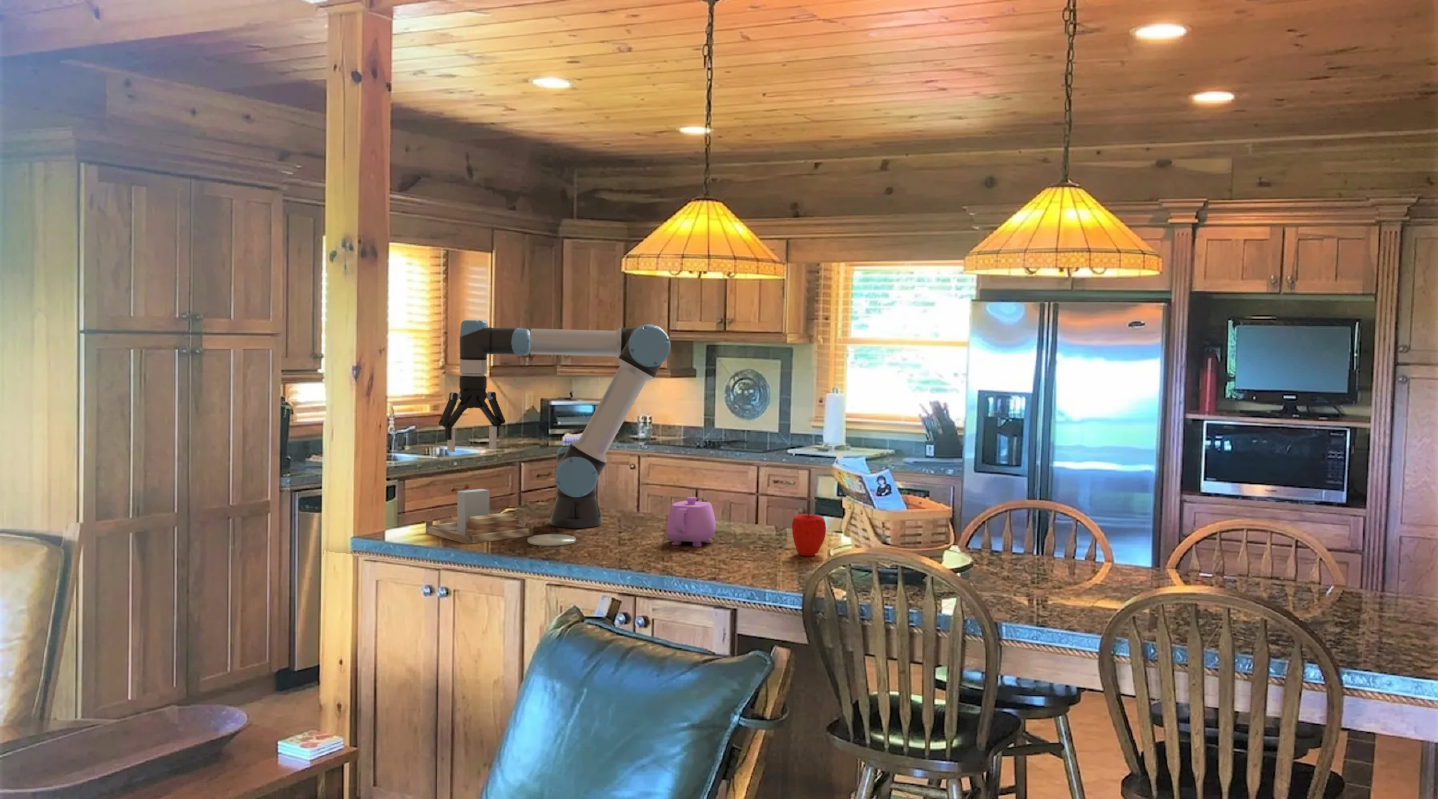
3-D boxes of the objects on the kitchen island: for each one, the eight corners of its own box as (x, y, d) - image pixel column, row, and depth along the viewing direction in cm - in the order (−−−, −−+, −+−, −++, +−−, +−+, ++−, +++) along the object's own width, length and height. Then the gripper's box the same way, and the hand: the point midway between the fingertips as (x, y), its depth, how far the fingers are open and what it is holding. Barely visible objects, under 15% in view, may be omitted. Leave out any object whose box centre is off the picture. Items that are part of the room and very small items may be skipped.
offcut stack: (509, 533, 326) (509, 512, 326) (519, 535, 323) (519, 514, 322) (465, 538, 316) (465, 517, 316) (475, 541, 313) (475, 519, 312)
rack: (489, 524, 339) (489, 513, 339) (532, 535, 323) (532, 522, 323) (425, 532, 325) (425, 520, 324) (467, 544, 309) (467, 531, 309)
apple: (832, 555, 301) (832, 514, 300) (809, 559, 295) (810, 517, 294) (806, 550, 307) (807, 510, 306) (784, 554, 301) (785, 513, 300)
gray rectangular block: (481, 530, 330) (481, 488, 330) (489, 532, 327) (489, 490, 327) (457, 533, 325) (457, 491, 324) (464, 535, 322) (465, 492, 321)
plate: (556, 535, 324) (556, 532, 324) (585, 541, 314) (585, 539, 314) (518, 540, 315) (518, 537, 315) (546, 547, 305) (546, 544, 305)
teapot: (699, 551, 304) (700, 503, 303) (656, 547, 308) (656, 500, 307) (724, 538, 323) (725, 493, 322) (683, 535, 327) (684, 491, 326)
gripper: (503, 374, 335) (502, 446, 336) (426, 374, 317) (425, 451, 319) (518, 375, 329) (516, 449, 331) (440, 376, 312) (440, 453, 313)
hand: (472, 450), depth 325 cm, fingers open, 13 cm apart
